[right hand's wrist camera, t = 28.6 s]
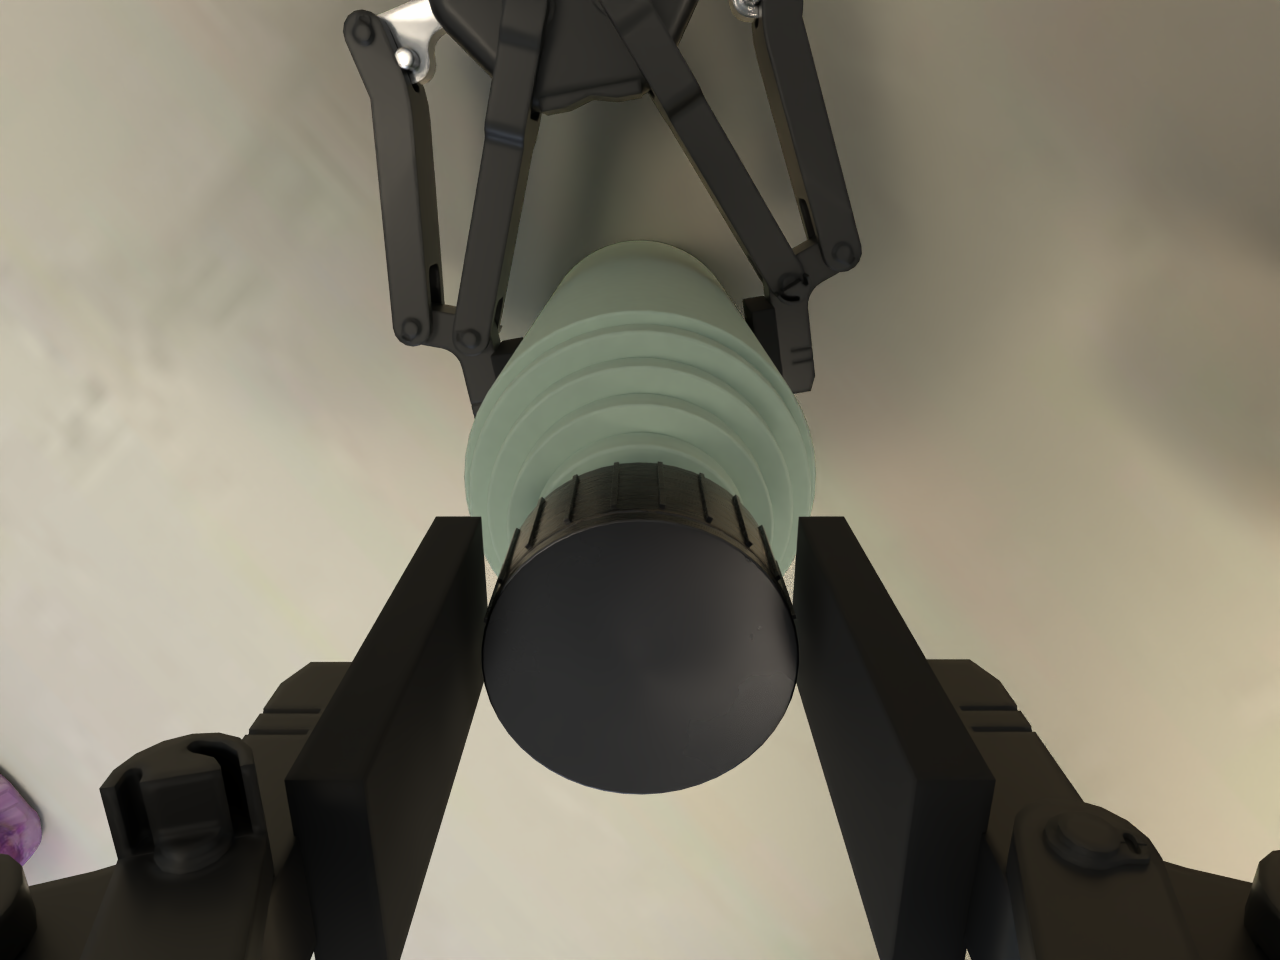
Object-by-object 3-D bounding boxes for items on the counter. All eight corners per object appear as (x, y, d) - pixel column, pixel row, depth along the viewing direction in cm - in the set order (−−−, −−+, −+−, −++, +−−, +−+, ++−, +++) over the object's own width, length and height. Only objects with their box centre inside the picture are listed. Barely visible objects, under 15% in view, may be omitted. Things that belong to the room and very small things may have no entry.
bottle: (515, 382, 36) (313, 738, 14) (592, 205, 34) (499, 289, 11) (682, 459, 38) (746, 901, 15) (769, 293, 35) (1000, 525, 13)
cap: (456, 633, 15) (423, 718, 13) (582, 406, 14) (571, 455, 11) (688, 743, 16) (696, 841, 14) (830, 538, 14) (867, 610, 12)
